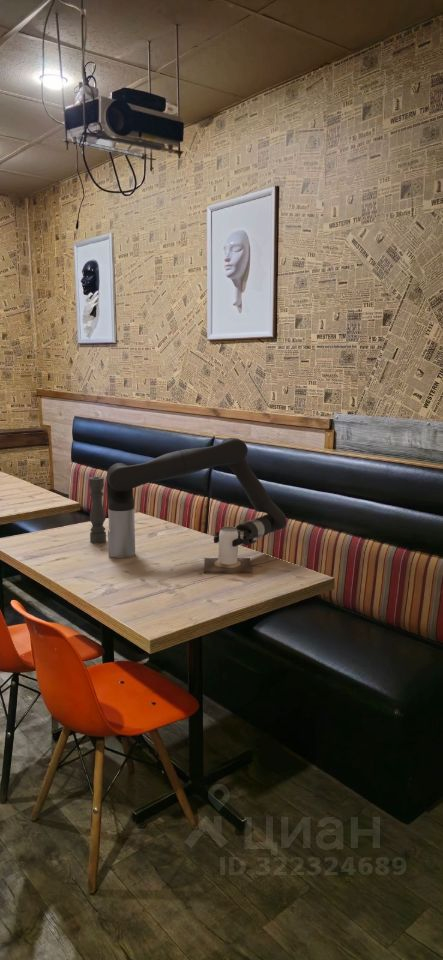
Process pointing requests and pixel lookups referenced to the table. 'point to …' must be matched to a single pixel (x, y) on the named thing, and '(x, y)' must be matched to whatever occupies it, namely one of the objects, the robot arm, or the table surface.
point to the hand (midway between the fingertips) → (224, 541)
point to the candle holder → (97, 510)
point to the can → (228, 546)
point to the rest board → (227, 566)
